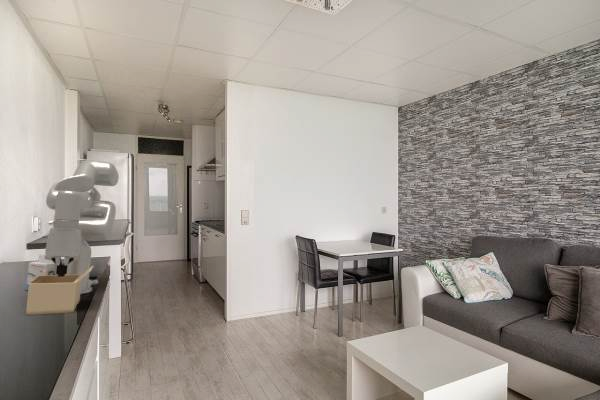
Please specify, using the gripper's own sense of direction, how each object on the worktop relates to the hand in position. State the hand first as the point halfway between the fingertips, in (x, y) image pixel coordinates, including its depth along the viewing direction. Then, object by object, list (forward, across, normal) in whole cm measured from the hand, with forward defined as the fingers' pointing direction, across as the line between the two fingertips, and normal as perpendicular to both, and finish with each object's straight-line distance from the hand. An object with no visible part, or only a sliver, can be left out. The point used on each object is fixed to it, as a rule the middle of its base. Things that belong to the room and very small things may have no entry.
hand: (61, 276), depth 121 cm
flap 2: (-1, +7, 0) cm, 7 cm away
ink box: (+11, -11, +29) cm, 33 cm away
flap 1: (-1, -6, 0) cm, 6 cm away
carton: (+11, -1, 0) cm, 11 cm away
